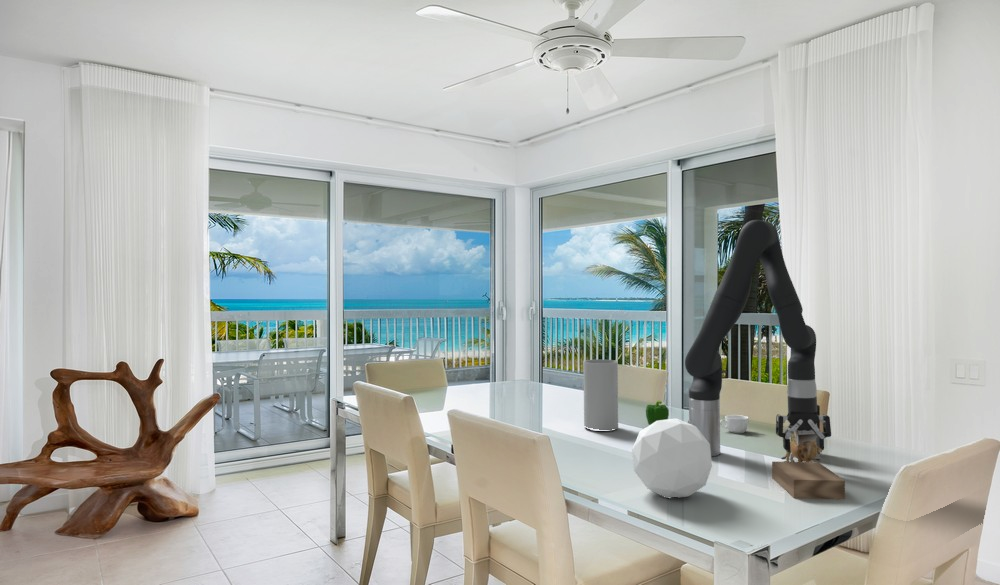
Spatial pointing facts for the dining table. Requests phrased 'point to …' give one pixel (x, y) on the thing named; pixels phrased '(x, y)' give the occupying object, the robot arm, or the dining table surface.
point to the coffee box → (806, 434)
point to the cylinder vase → (601, 394)
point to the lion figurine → (803, 451)
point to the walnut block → (808, 480)
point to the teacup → (736, 423)
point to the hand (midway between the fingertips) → (803, 451)
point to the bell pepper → (656, 412)
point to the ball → (672, 458)
